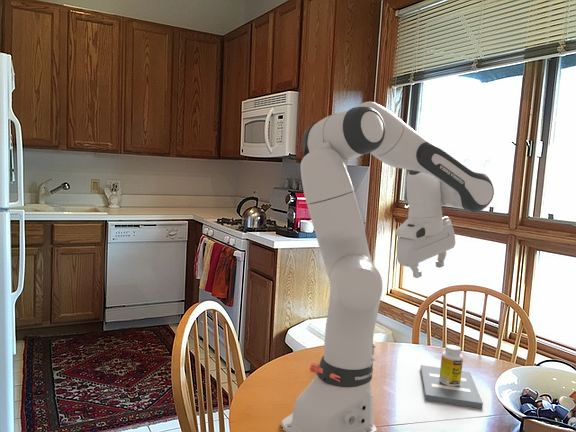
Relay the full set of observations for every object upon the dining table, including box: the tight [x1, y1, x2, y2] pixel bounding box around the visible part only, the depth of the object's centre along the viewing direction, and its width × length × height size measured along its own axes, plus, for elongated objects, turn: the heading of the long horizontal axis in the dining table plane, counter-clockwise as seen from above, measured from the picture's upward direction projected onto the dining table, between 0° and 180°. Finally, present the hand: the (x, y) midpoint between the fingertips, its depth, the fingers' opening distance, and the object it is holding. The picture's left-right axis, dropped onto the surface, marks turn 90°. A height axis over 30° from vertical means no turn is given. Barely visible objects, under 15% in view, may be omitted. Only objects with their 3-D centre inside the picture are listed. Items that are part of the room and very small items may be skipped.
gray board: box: [419, 364, 484, 410], centre depth 134 cm, size 20×14×2 cm
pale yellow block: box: [372, 339, 377, 356], centre depth 152 cm, size 10×9×6 cm
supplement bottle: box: [439, 344, 464, 386], centre depth 133 cm, size 6×6×10 cm
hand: (428, 271), depth 135 cm, fingers open, 8 cm apart
